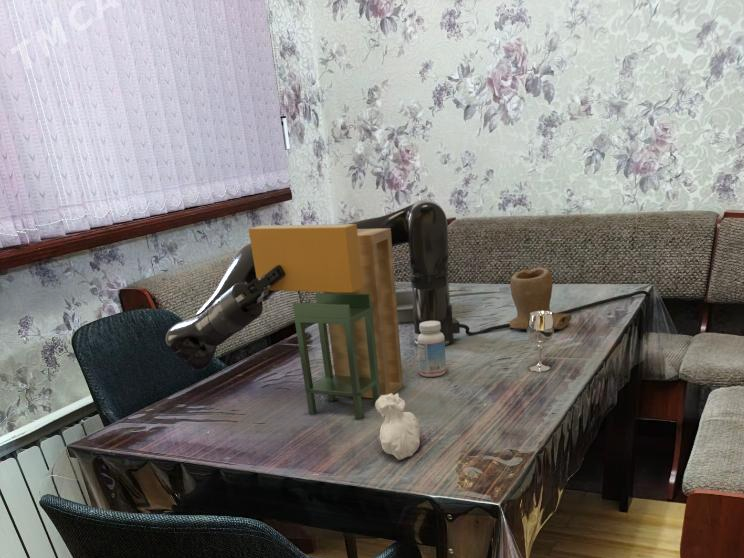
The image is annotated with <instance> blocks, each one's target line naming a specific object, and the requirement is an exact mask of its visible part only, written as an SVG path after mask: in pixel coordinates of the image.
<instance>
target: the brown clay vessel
mask: <svg viewBox="0 0 744 558" xmlns="http://www.w3.org/2000/svg"><path fill="white" fill-rule="evenodd" d="M509 287H510V288H509V289H510V293H511V299H512V300H513V302H514V306H515V308H516V317H514V318H513V319H512V320H510V321H509V322H508V324H509V325H510V327H509V328H511V329H515V330H527V324H528V319H529V315H530V313H531V312H535V311H550V312H552V310H551V306H550V305H551V299H552V293H553V276H552V273H551V271H549V269H548V268H545V267H534V268H532V269H523V270H520V271H517V272H516V273H514V274H513V275H511V278H510V281H509ZM552 316H553V321H554V330H563V329H564V328H565V327H566V326H567V325H568V324H569V323H570V321H571V320H572V314H571V313H568V314H559V313H558V312H552Z"/></svg>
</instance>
